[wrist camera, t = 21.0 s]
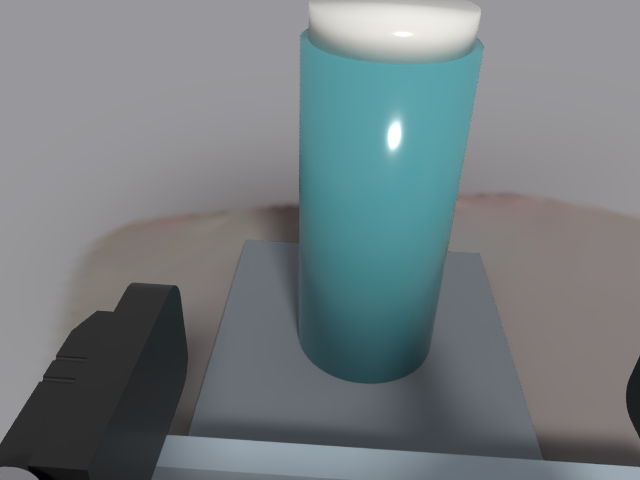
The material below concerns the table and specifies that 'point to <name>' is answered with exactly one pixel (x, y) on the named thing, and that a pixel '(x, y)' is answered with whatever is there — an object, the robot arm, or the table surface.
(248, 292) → the mat
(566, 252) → the table surface
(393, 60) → the jar
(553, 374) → the table surface
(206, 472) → the wall
